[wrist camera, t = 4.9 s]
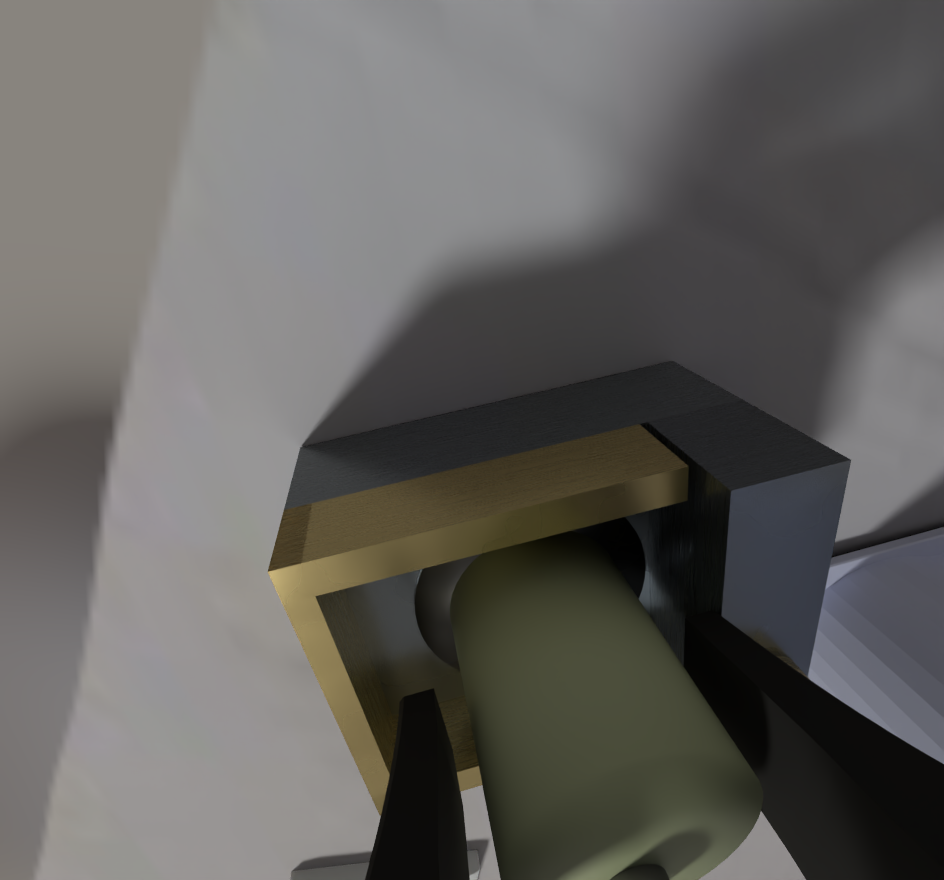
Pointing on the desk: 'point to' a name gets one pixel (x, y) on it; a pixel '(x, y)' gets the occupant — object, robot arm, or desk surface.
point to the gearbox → (548, 532)
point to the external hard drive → (353, 875)
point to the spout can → (590, 724)
